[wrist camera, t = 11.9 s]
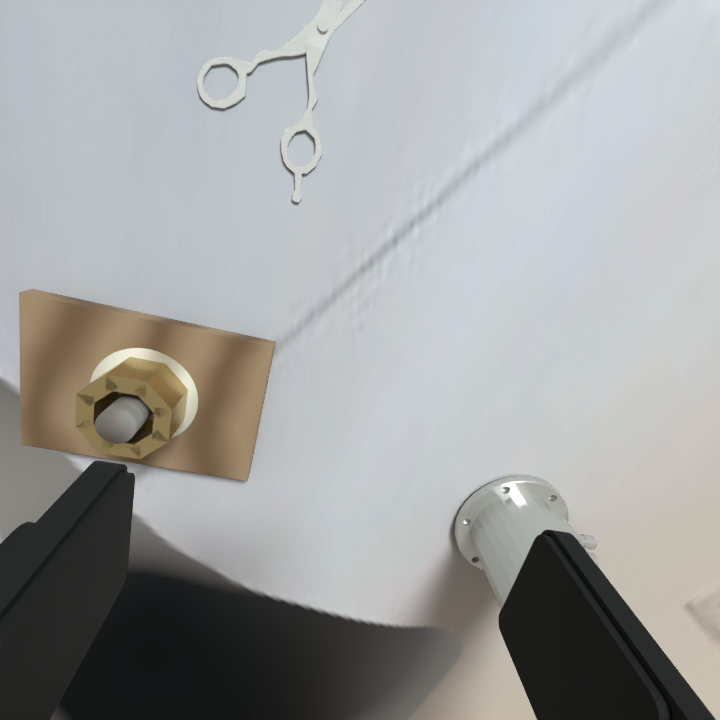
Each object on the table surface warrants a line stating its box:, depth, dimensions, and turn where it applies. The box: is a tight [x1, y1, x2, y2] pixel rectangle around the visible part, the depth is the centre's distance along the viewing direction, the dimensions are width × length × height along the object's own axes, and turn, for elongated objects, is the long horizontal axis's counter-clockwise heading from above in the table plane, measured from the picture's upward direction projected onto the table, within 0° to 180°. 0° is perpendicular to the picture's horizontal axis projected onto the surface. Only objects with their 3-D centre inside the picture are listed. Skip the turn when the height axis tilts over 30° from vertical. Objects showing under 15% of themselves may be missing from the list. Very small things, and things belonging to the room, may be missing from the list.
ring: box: [75, 357, 188, 459], centre depth 34 cm, size 7×7×4 cm
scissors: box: [197, 0, 365, 202], centre depth 29 cm, size 11×1×20 cm
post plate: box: [19, 289, 275, 481], centre depth 34 cm, size 20×14×7 cm
